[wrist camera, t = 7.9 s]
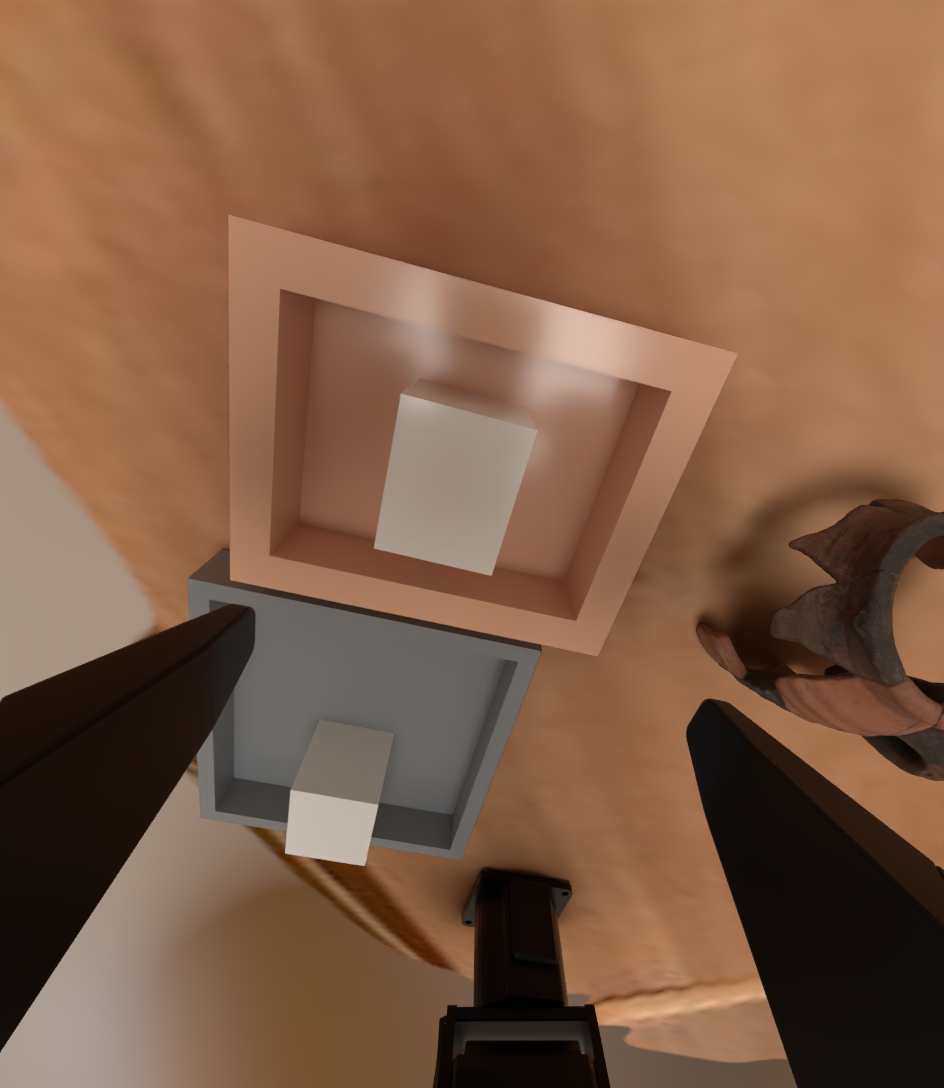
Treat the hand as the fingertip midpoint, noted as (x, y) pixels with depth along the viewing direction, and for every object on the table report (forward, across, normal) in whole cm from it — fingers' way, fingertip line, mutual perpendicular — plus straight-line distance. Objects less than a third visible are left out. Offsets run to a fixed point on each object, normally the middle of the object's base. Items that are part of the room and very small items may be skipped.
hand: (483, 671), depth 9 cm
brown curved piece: (+11, -16, +2) cm, 20 cm away
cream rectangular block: (+10, +1, -1) cm, 10 cm away
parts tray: (+11, +4, +13) cm, 17 cm away
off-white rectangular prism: (+10, +4, +17) cm, 20 cm away
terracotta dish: (+11, +1, -1) cm, 11 cm away
